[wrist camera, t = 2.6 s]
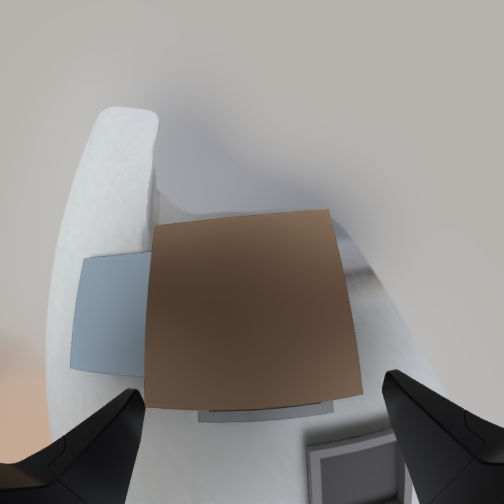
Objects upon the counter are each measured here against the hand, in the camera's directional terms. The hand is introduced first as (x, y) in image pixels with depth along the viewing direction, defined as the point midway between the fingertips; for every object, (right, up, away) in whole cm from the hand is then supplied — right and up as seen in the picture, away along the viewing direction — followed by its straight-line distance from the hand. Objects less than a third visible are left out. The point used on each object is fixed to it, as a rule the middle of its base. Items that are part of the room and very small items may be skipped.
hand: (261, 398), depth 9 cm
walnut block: (0, -3, +10) cm, 10 cm away
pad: (-11, 0, +12) cm, 16 cm away
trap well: (+7, -11, +5) cm, 14 cm away
